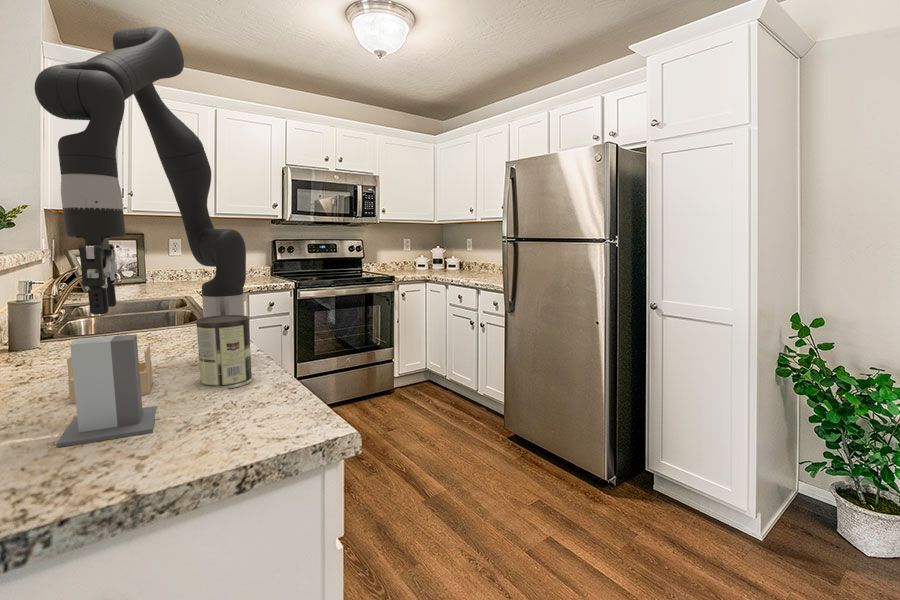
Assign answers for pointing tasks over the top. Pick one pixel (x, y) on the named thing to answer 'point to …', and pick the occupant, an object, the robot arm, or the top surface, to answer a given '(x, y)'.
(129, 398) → the box
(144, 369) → the carton
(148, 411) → the mat
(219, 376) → the coffee can
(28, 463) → the top surface
